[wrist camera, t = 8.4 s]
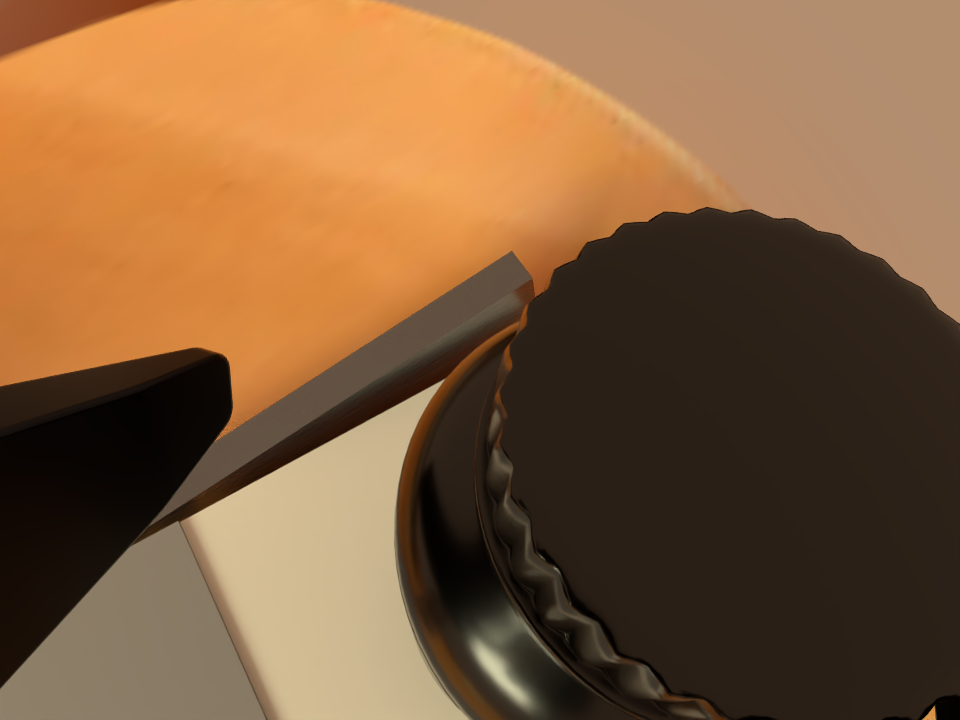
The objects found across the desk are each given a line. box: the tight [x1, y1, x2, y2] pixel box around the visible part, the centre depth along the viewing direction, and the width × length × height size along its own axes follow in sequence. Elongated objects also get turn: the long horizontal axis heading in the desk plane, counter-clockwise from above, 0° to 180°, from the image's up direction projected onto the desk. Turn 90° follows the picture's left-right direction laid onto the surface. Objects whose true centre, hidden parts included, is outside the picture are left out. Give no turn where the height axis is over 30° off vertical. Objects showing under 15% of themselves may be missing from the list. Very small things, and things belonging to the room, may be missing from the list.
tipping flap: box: [0, 379, 469, 720], centre depth 16 cm, size 17×12×3 cm
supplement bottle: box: [394, 207, 960, 720], centre depth 11 cm, size 7×7×12 cm
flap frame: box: [130, 251, 535, 547], centre depth 17 cm, size 18×15×5 cm
